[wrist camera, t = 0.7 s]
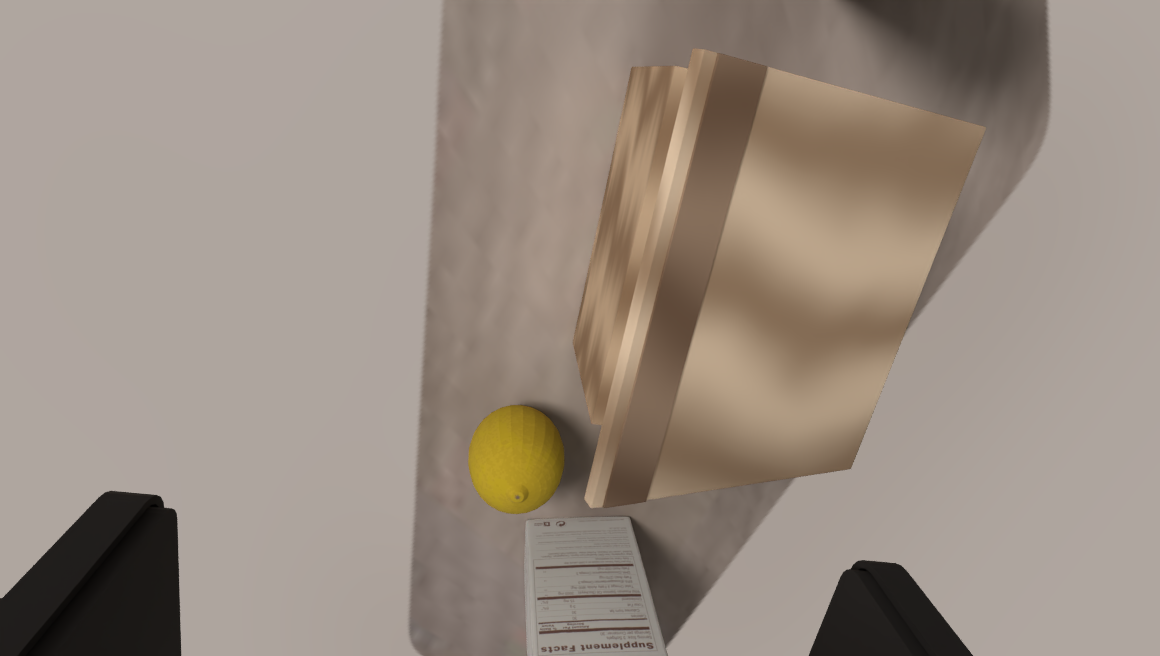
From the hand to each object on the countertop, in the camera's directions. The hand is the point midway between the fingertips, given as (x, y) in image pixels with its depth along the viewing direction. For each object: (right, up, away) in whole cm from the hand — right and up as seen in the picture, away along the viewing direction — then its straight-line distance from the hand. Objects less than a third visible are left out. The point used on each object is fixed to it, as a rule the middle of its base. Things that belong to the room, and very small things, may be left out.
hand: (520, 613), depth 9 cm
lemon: (-3, -2, +33) cm, 33 cm away
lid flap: (+9, +5, +18) cm, 20 cm away
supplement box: (+1, -12, +37) cm, 39 cm away
